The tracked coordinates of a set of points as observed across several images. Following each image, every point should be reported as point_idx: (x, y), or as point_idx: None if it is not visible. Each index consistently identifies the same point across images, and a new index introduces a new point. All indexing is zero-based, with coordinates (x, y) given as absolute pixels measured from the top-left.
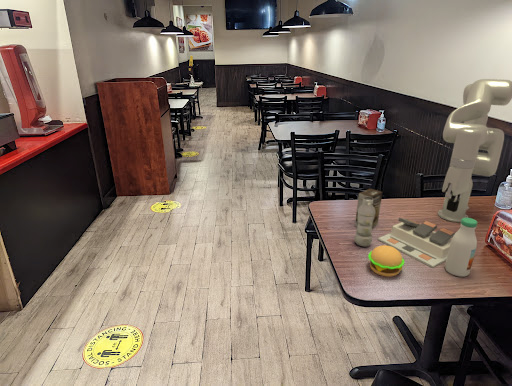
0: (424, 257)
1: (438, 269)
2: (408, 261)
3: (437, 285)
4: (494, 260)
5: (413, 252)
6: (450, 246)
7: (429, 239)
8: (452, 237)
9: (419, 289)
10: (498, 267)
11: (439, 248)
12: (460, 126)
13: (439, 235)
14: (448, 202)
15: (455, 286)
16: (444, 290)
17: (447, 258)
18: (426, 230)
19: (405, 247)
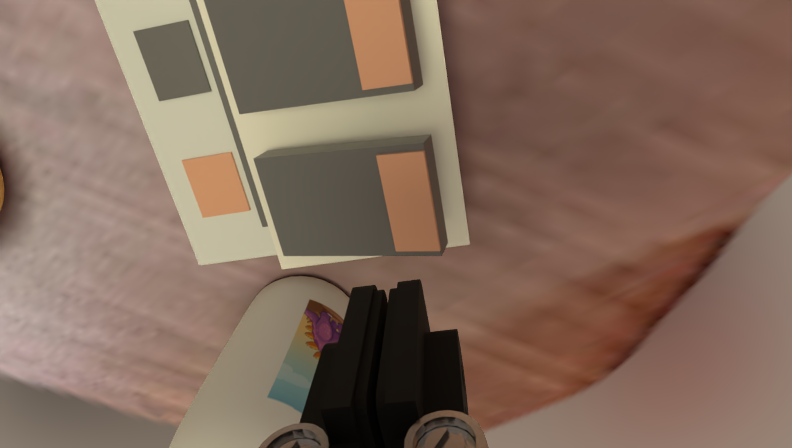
0: (207, 190)
1: (227, 278)
2: (111, 159)
3: (134, 352)
4: (586, 340)
5: (181, 112)
6: (195, 396)
7: (263, 154)
8: (189, 430)
9: (37, 339)
10: (533, 380)
11: (275, 241)
12: None
13: (329, 194)
14: (335, 375)
15: None
16: (141, 381)
17: (231, 335)
18: (291, 77)
19: (160, 41)
